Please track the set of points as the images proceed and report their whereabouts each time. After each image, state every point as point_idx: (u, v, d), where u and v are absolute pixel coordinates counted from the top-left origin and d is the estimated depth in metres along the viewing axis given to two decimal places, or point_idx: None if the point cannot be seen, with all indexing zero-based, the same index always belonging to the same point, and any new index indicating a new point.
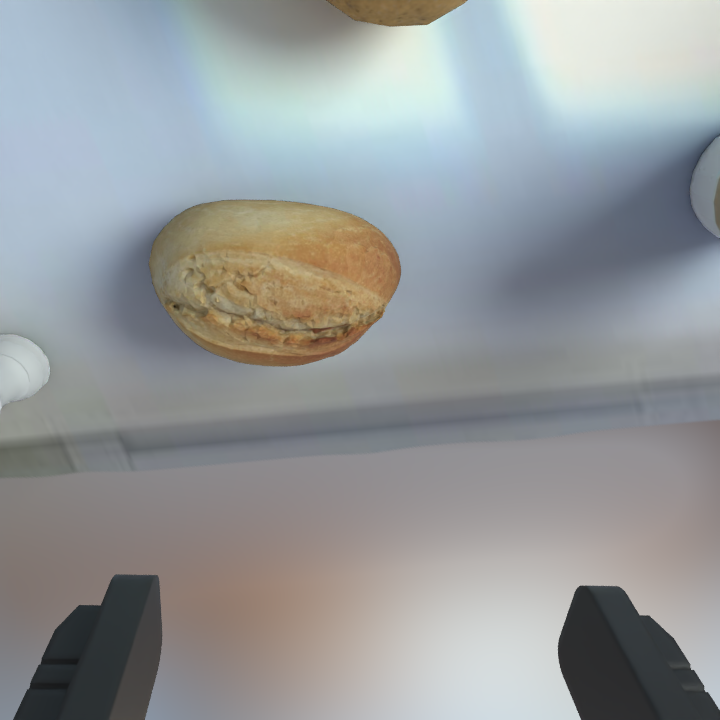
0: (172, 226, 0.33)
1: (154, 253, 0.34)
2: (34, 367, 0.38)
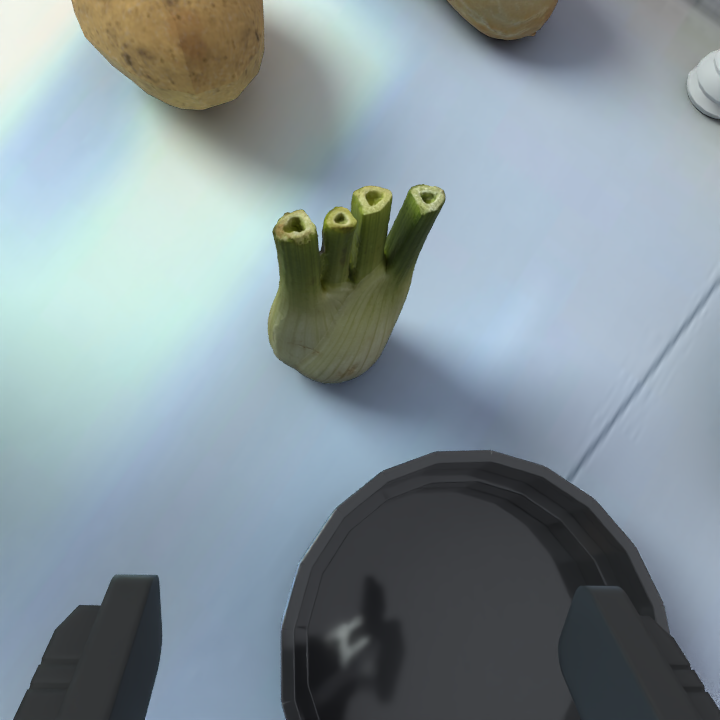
0: None
1: None
2: (706, 58, 0.37)
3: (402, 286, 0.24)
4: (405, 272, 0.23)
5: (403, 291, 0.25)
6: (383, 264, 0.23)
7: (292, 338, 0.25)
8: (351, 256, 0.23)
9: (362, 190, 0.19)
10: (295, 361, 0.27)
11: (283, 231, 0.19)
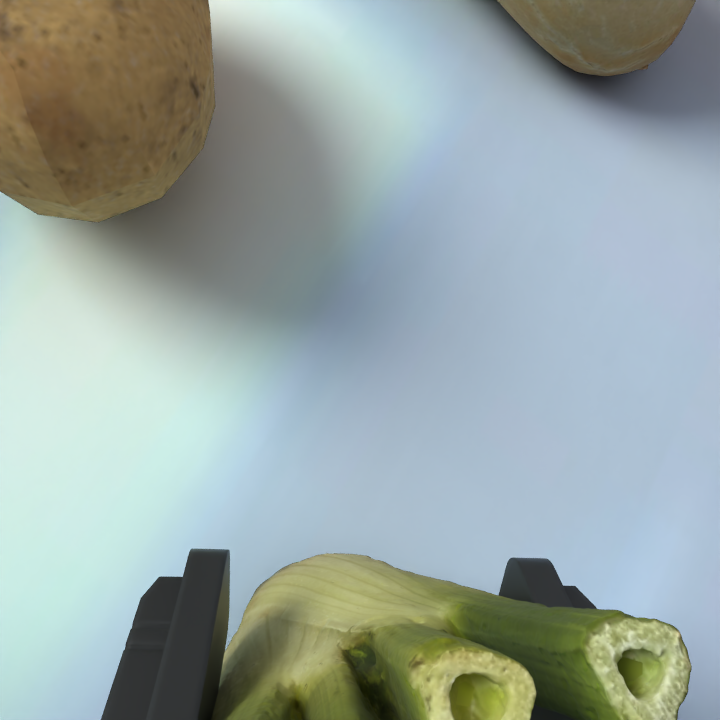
0: (613, 4, 0.21)
1: (661, 12, 0.21)
2: None
3: None
4: None
5: None
6: None
7: None
8: (385, 670, 0.09)
9: (439, 676, 0.06)
10: None
11: None
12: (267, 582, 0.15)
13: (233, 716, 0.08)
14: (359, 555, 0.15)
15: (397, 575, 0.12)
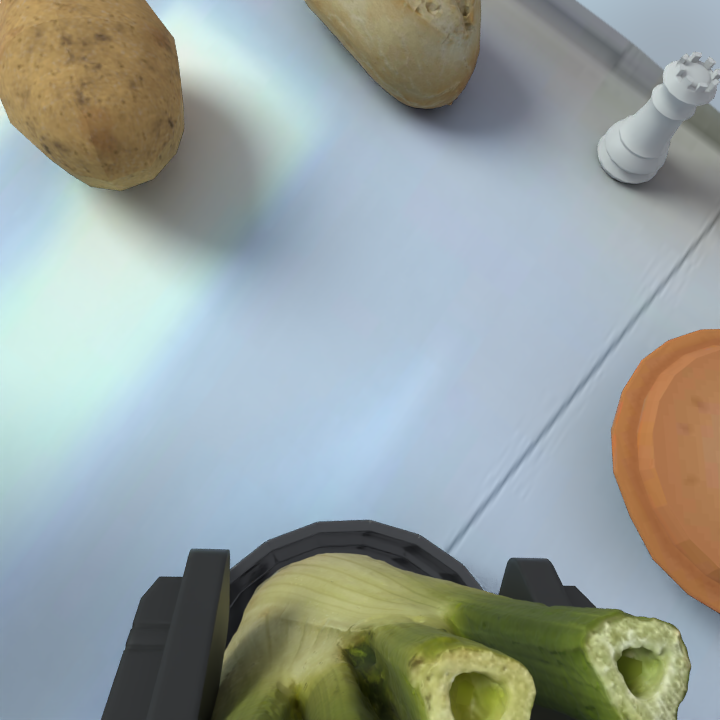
0: (414, 71, 0.36)
1: (444, 75, 0.37)
2: (614, 127, 0.40)
3: None
4: None
5: None
6: None
7: None
8: (385, 669, 0.09)
9: (439, 674, 0.06)
10: None
11: None
12: (267, 581, 0.15)
13: (233, 715, 0.08)
14: (359, 554, 0.15)
15: (397, 574, 0.12)
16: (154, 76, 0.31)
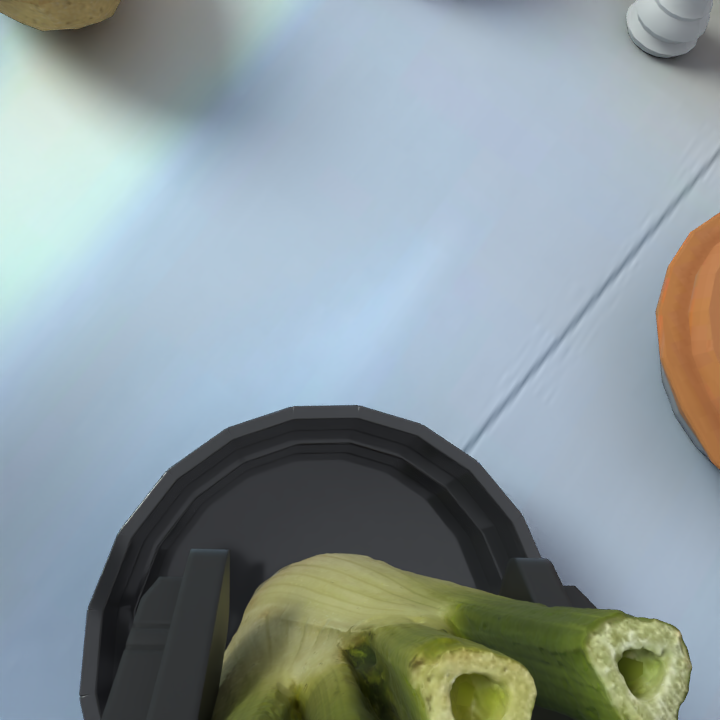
0: None
1: None
2: None
3: None
4: None
5: None
6: None
7: None
8: (386, 670, 0.09)
9: (439, 676, 0.06)
10: None
11: None
12: (267, 582, 0.15)
13: (233, 716, 0.08)
14: (359, 555, 0.15)
15: (397, 575, 0.12)
16: None
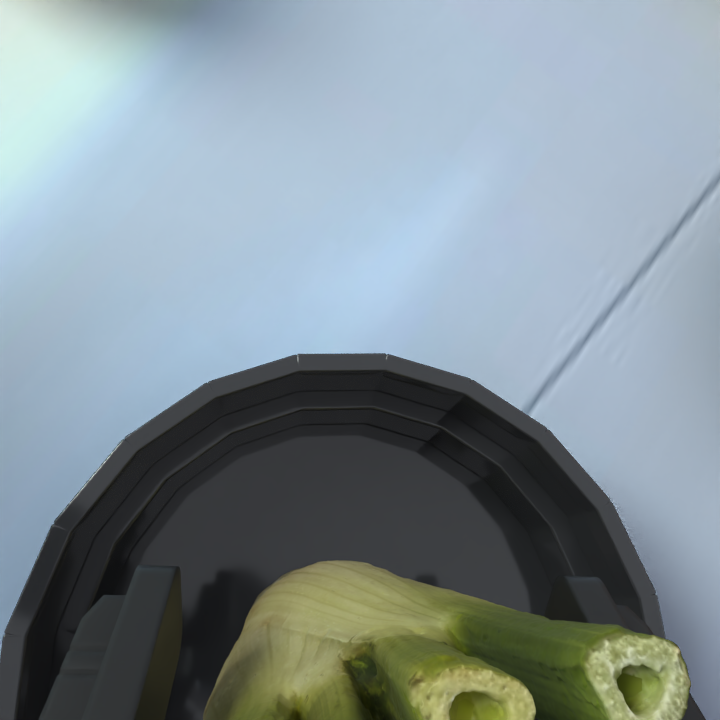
0: None
1: None
2: None
3: None
4: None
5: None
6: None
7: None
8: (386, 682, 0.09)
9: (439, 694, 0.06)
10: None
11: None
12: (268, 589, 0.15)
13: None
14: (360, 562, 0.15)
15: (398, 584, 0.12)
16: None
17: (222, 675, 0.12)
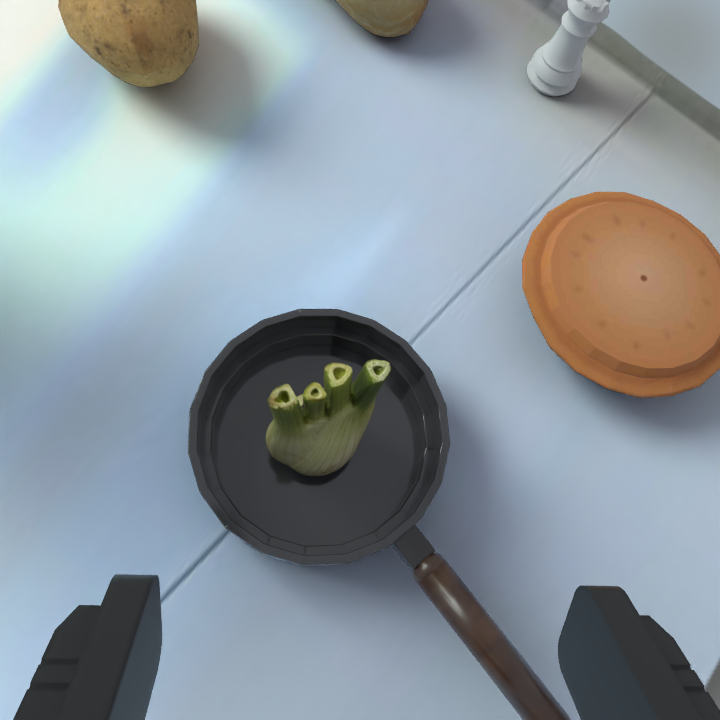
0: (377, 2, 0.47)
1: (401, 5, 0.47)
2: (538, 50, 0.50)
3: (366, 412, 0.32)
4: (367, 405, 0.31)
5: (368, 414, 0.33)
6: (350, 402, 0.31)
7: (284, 450, 0.33)
8: (326, 398, 0.30)
9: (331, 367, 0.27)
10: (286, 462, 0.35)
11: (274, 401, 0.27)
12: None
13: None
14: None
15: None
16: None
17: None
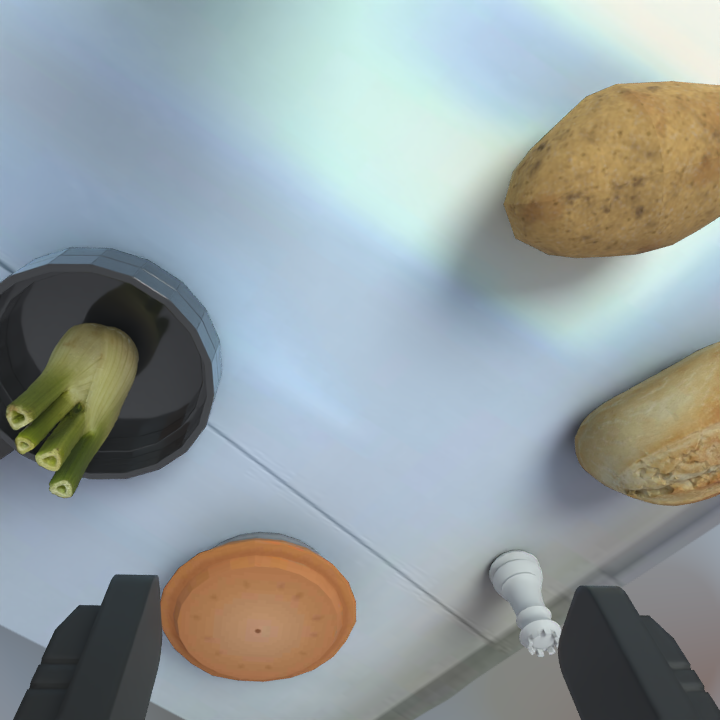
0: (596, 442, 0.42)
1: (591, 463, 0.43)
2: (535, 568, 0.50)
3: None
4: None
5: None
6: None
7: None
8: (72, 418, 0.33)
9: (55, 454, 0.30)
10: None
11: (12, 410, 0.29)
12: (120, 345, 0.38)
13: (54, 386, 0.32)
14: (133, 378, 0.38)
15: (113, 405, 0.36)
16: (599, 249, 0.34)
17: (83, 342, 0.36)
